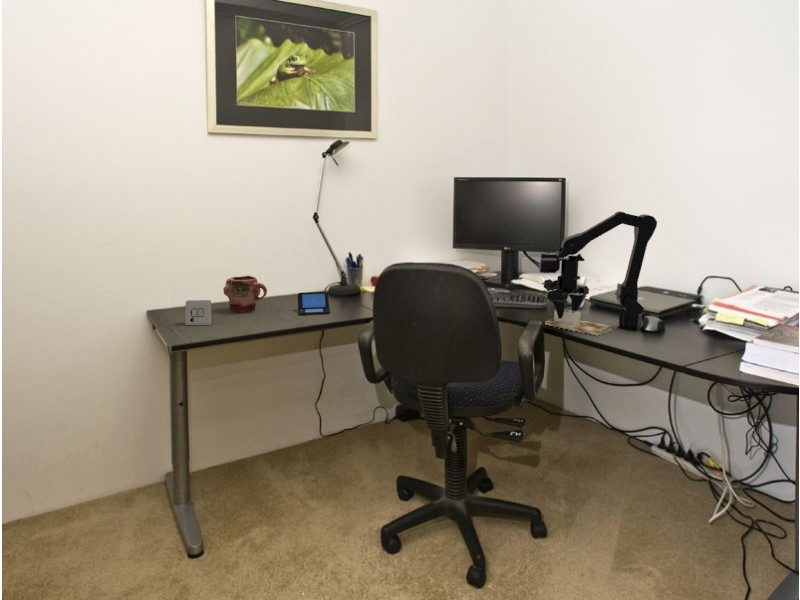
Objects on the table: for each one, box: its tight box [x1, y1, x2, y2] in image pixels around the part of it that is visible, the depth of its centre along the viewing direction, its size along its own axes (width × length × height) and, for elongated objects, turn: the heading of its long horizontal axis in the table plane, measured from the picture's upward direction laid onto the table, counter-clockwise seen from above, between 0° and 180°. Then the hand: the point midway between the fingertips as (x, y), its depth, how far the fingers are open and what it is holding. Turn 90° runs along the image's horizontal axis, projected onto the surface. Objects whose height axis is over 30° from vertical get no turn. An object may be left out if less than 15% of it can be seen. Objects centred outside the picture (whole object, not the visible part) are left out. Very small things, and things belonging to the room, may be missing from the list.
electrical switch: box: [184, 299, 213, 326], centre depth 209 cm, size 9×5×9 cm, turn 90°
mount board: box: [544, 317, 613, 337], centre depth 198 cm, size 20×10×2 cm, turn 43°
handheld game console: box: [297, 291, 331, 316], centre depth 226 cm, size 12×11×7 cm
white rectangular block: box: [553, 308, 582, 326], centre depth 201 cm, size 8×4×5 cm, turn 43°
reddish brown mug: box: [222, 275, 268, 314], centre depth 228 cm, size 20×12×14 cm, turn 77°
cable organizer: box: [567, 276, 587, 309], centre depth 233 cm, size 15×11×12 cm
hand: (567, 316), depth 201 cm, fingers open, 9 cm apart
